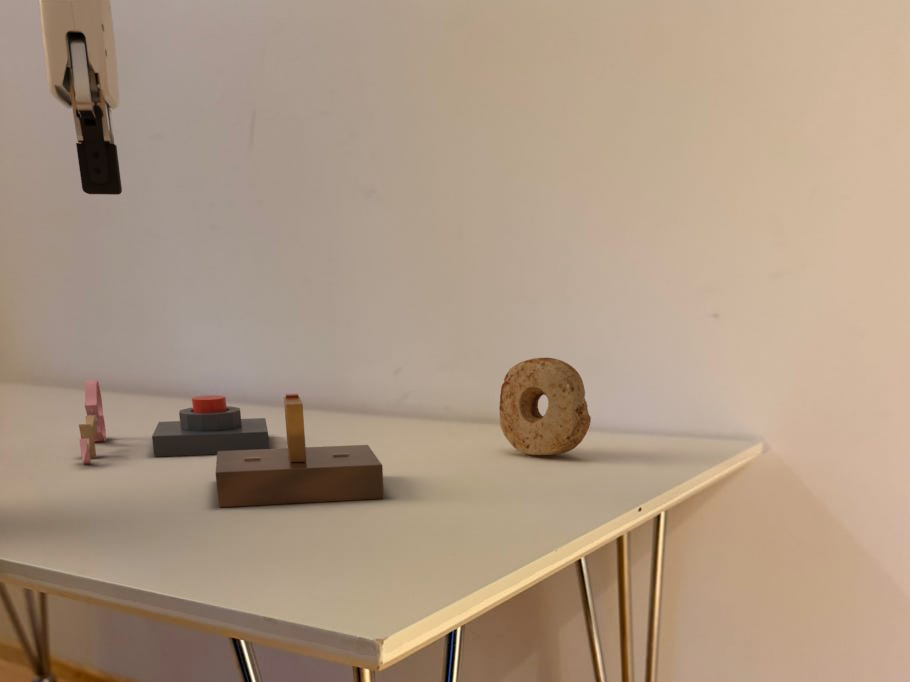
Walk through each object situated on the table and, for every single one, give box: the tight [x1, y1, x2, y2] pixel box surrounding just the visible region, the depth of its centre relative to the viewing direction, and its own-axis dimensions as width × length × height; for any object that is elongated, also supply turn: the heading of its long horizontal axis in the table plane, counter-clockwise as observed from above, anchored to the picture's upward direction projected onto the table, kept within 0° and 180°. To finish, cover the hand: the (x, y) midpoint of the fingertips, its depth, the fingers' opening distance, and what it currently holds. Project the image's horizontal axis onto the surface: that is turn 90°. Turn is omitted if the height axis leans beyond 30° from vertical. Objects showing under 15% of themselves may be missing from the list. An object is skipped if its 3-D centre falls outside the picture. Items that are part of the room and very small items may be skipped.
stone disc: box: [499, 357, 592, 456], centre depth 103 cm, size 10×4×10 cm, turn 52°
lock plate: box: [215, 444, 385, 508], centre depth 88 cm, size 14×10×3 cm
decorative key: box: [78, 380, 107, 465], centre depth 106 cm, size 7×1×20 cm
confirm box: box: [151, 405, 270, 458], centre depth 109 cm, size 12×10×4 cm
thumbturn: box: [283, 393, 307, 462], centre depth 87 cm, size 5×1×5 cm, turn 13°
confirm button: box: [191, 394, 227, 413], centre depth 108 cm, size 4×4×2 cm
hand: (102, 193), depth 88 cm, fingers closed
